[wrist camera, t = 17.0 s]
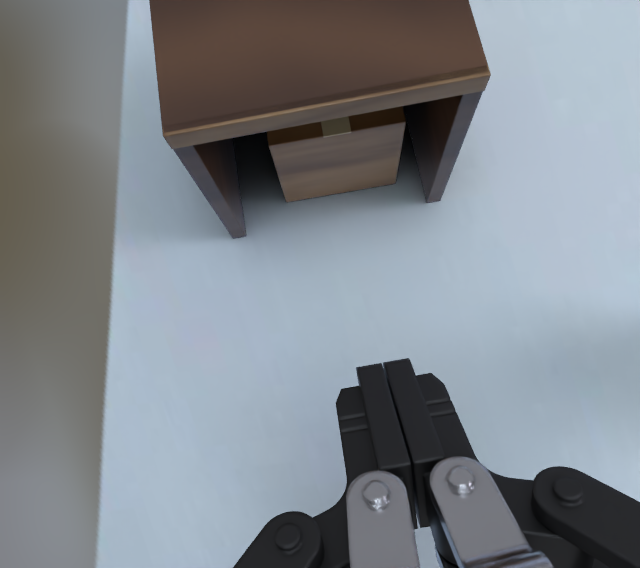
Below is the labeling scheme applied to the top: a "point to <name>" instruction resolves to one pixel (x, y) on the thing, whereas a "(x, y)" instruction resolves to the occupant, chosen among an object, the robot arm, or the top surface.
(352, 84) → the cabinet
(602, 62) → the top surface
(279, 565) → the robot arm
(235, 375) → the top surface
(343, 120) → the parcel box
